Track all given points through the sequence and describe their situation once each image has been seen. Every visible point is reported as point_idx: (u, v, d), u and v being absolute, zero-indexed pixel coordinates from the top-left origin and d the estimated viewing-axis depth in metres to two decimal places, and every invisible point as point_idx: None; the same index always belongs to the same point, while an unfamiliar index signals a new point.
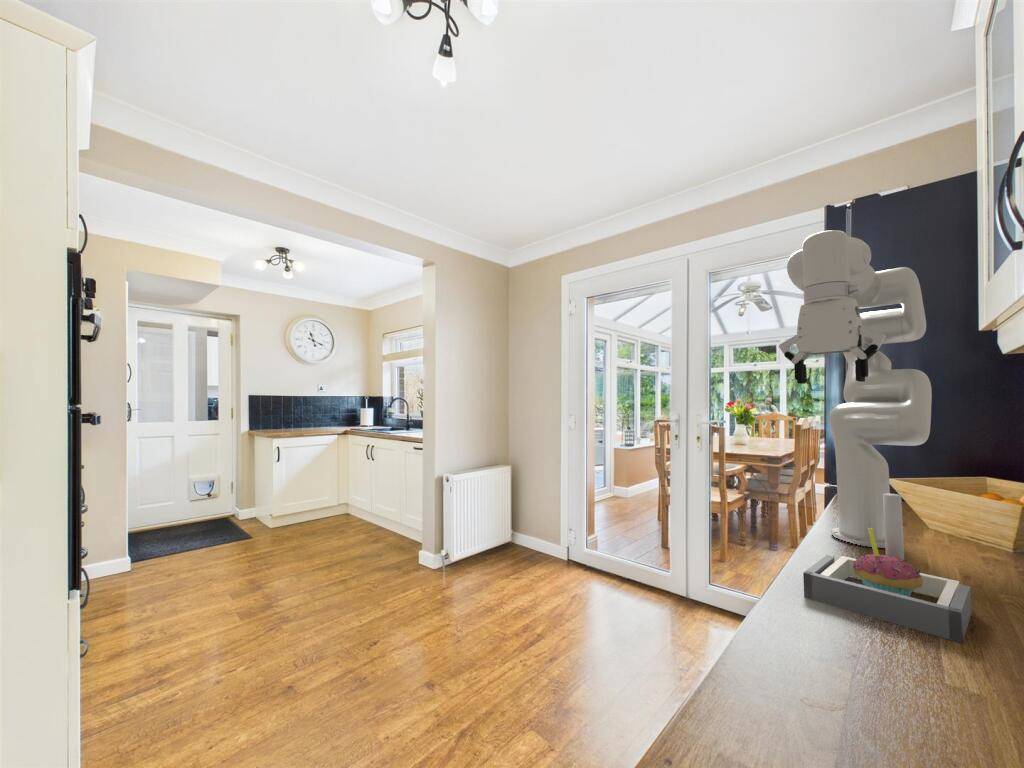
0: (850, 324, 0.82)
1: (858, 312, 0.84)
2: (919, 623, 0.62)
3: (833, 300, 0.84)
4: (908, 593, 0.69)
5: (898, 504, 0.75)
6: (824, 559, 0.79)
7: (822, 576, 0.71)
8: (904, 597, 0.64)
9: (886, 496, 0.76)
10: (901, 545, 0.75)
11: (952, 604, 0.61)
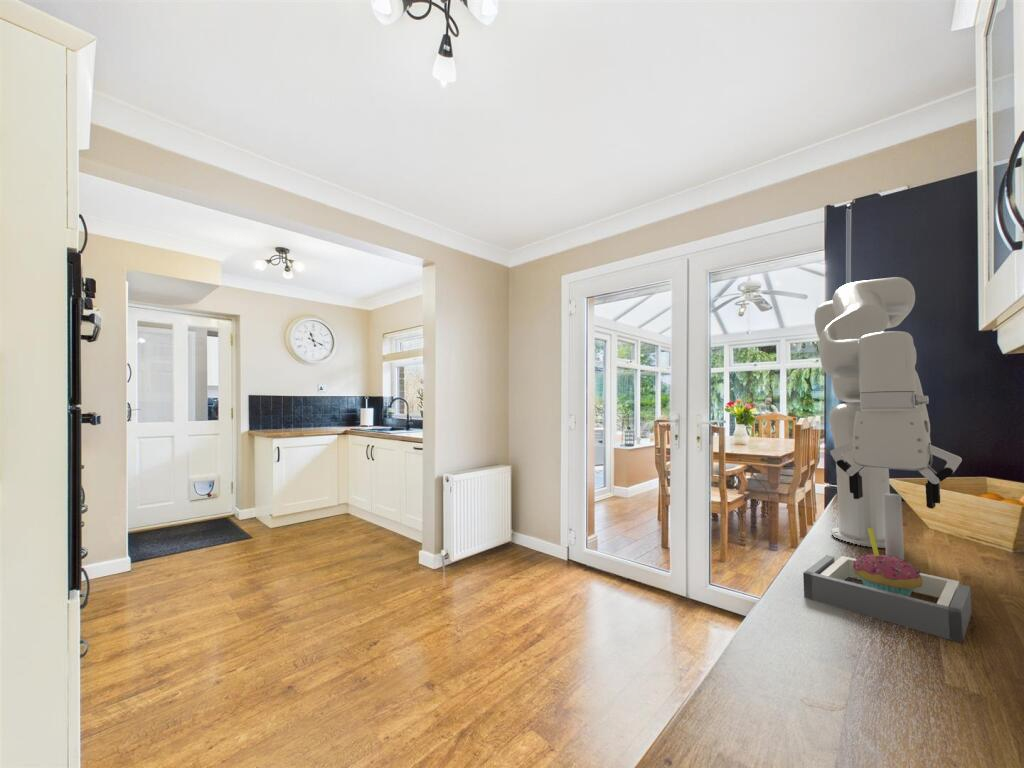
0: (919, 442, 0.72)
1: (926, 426, 0.73)
2: (919, 623, 0.62)
3: (898, 412, 0.74)
4: (908, 593, 0.69)
5: (898, 504, 0.75)
6: (824, 559, 0.79)
7: (822, 576, 0.71)
8: (904, 597, 0.64)
9: (886, 496, 0.76)
10: (901, 545, 0.75)
11: (952, 604, 0.61)
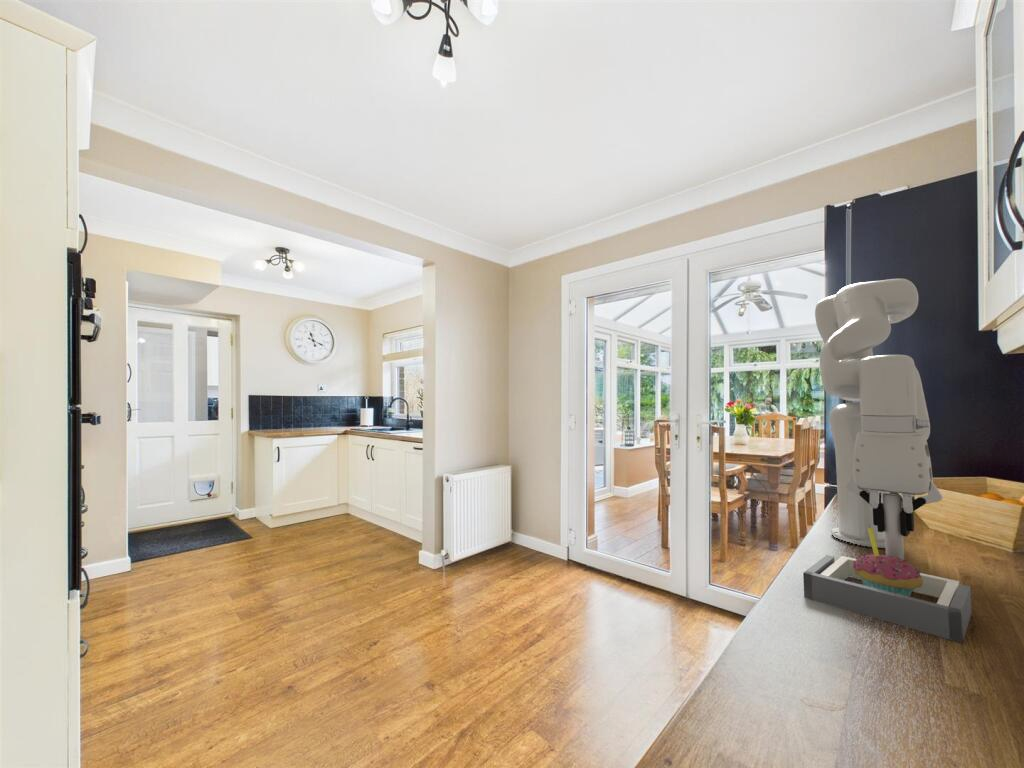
0: (920, 467, 0.72)
1: (927, 450, 0.73)
2: (919, 623, 0.62)
3: (899, 436, 0.74)
4: (908, 593, 0.69)
5: (898, 504, 0.75)
6: (824, 559, 0.79)
7: (822, 576, 0.71)
8: (904, 597, 0.64)
9: (886, 496, 0.76)
10: (901, 545, 0.75)
11: (952, 604, 0.61)
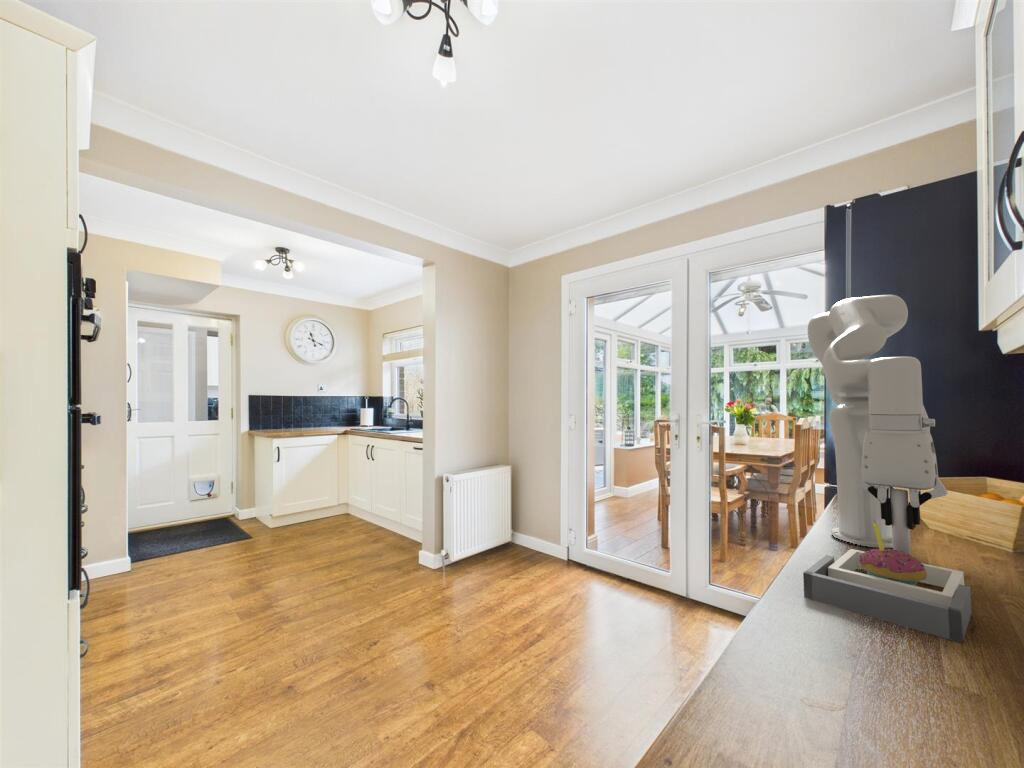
0: (926, 463, 0.76)
1: (933, 447, 0.77)
2: (919, 623, 0.62)
3: (906, 434, 0.77)
4: None
5: (905, 499, 0.79)
6: (824, 559, 0.79)
7: (822, 576, 0.71)
8: (904, 597, 0.64)
9: (893, 491, 0.80)
10: (908, 538, 0.78)
11: (952, 604, 0.61)
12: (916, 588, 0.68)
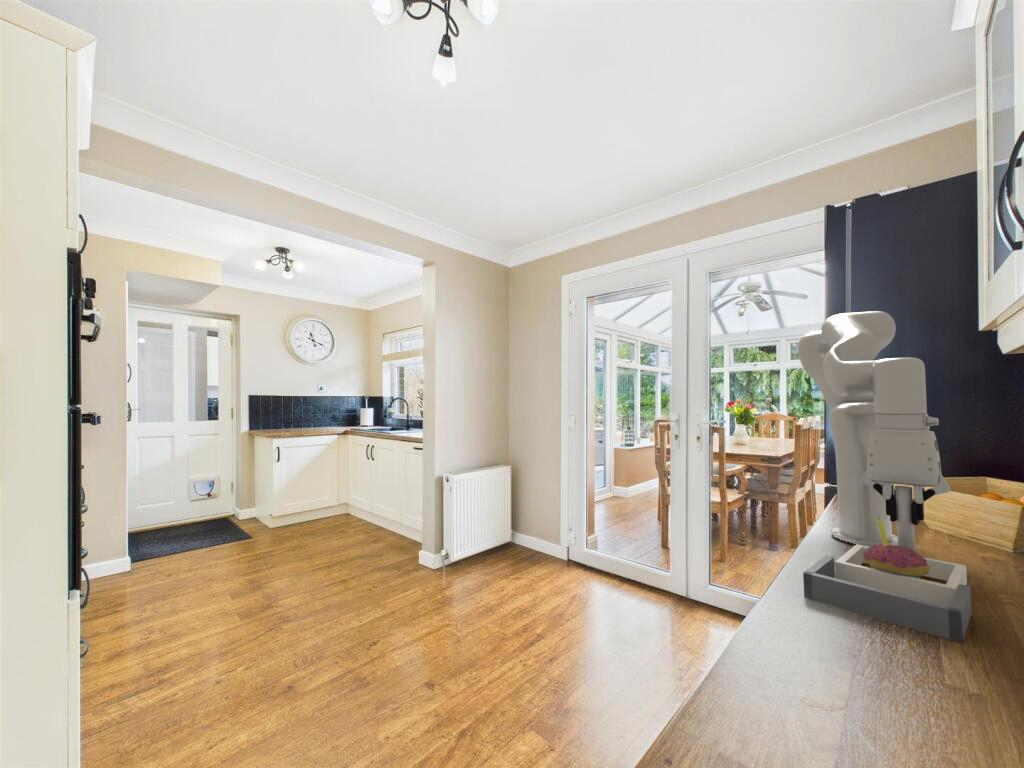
0: (930, 461, 0.78)
1: (936, 445, 0.80)
2: (919, 623, 0.62)
3: (910, 433, 0.80)
4: None
5: (909, 495, 0.81)
6: (824, 559, 0.79)
7: (822, 576, 0.71)
8: (904, 597, 0.64)
9: (898, 488, 0.82)
10: (912, 533, 0.81)
11: (952, 604, 0.61)
12: (921, 581, 0.70)
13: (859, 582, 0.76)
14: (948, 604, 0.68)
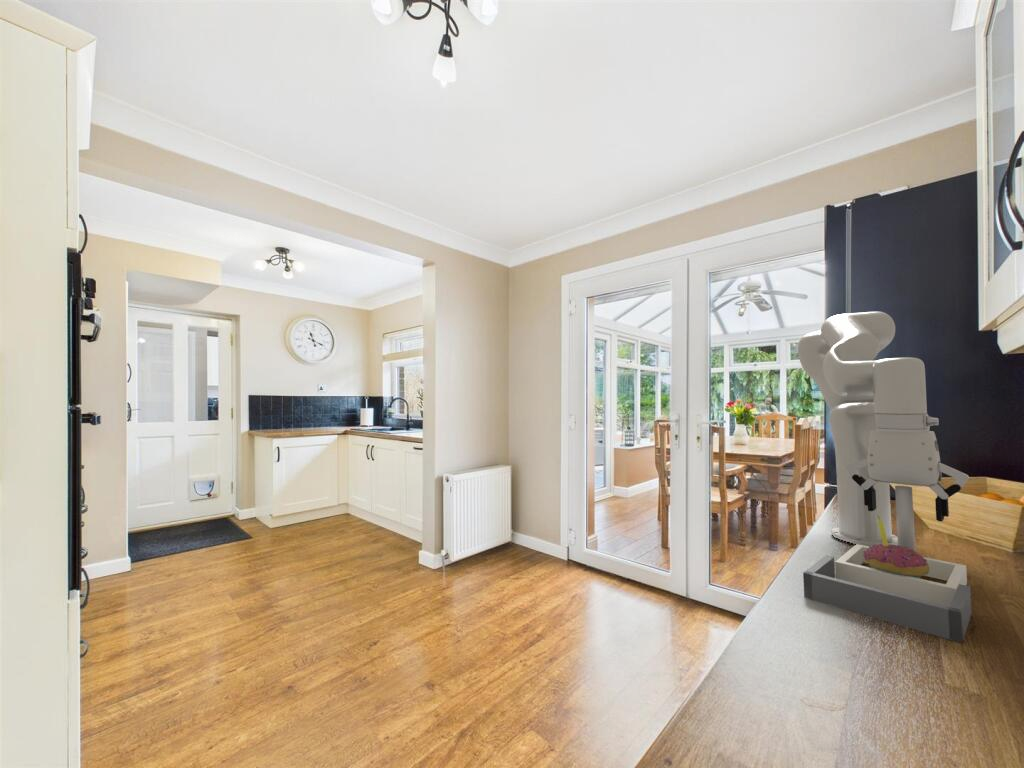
0: (930, 461, 0.78)
1: (936, 445, 0.80)
2: (919, 623, 0.62)
3: (910, 432, 0.80)
4: None
5: (909, 495, 0.81)
6: (824, 559, 0.79)
7: (822, 576, 0.71)
8: (904, 597, 0.64)
9: (898, 488, 0.82)
10: (912, 533, 0.81)
11: (952, 604, 0.61)
12: (921, 581, 0.71)
13: (859, 582, 0.76)
14: (948, 604, 0.68)
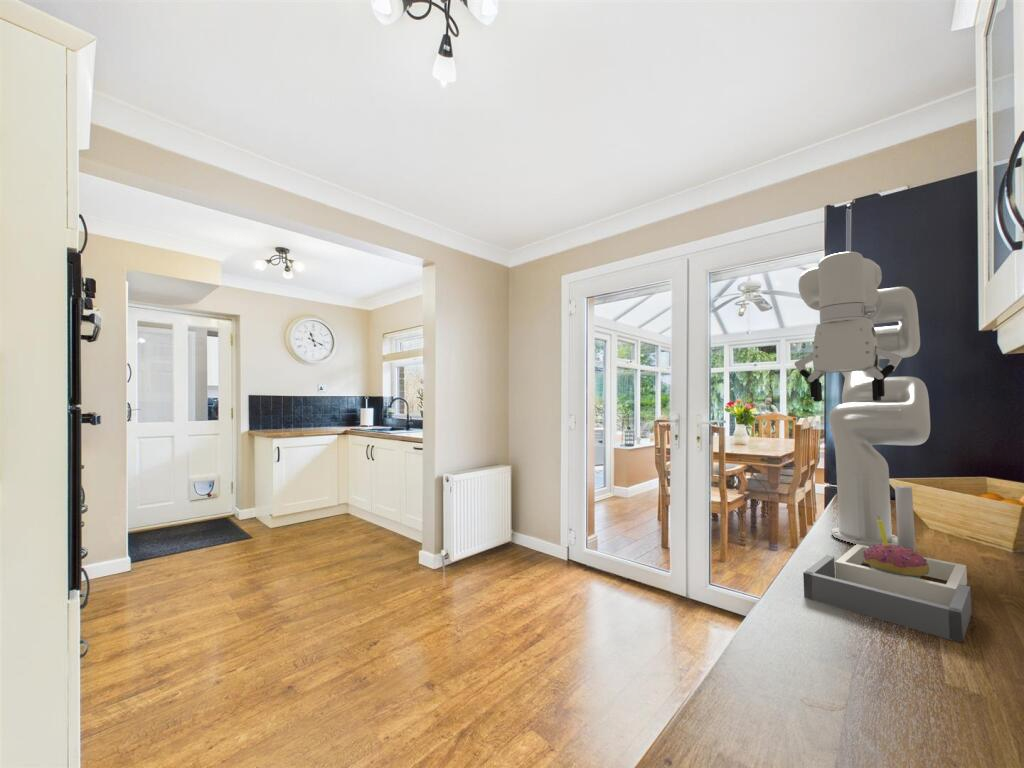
0: (867, 345, 0.84)
1: (874, 332, 0.85)
2: (919, 623, 0.62)
3: (850, 321, 0.85)
4: None
5: (909, 495, 0.81)
6: (824, 559, 0.79)
7: (822, 576, 0.71)
8: (904, 597, 0.64)
9: (898, 488, 0.82)
10: (912, 533, 0.81)
11: (952, 604, 0.61)
12: (921, 581, 0.71)
13: (859, 582, 0.76)
14: (948, 604, 0.68)
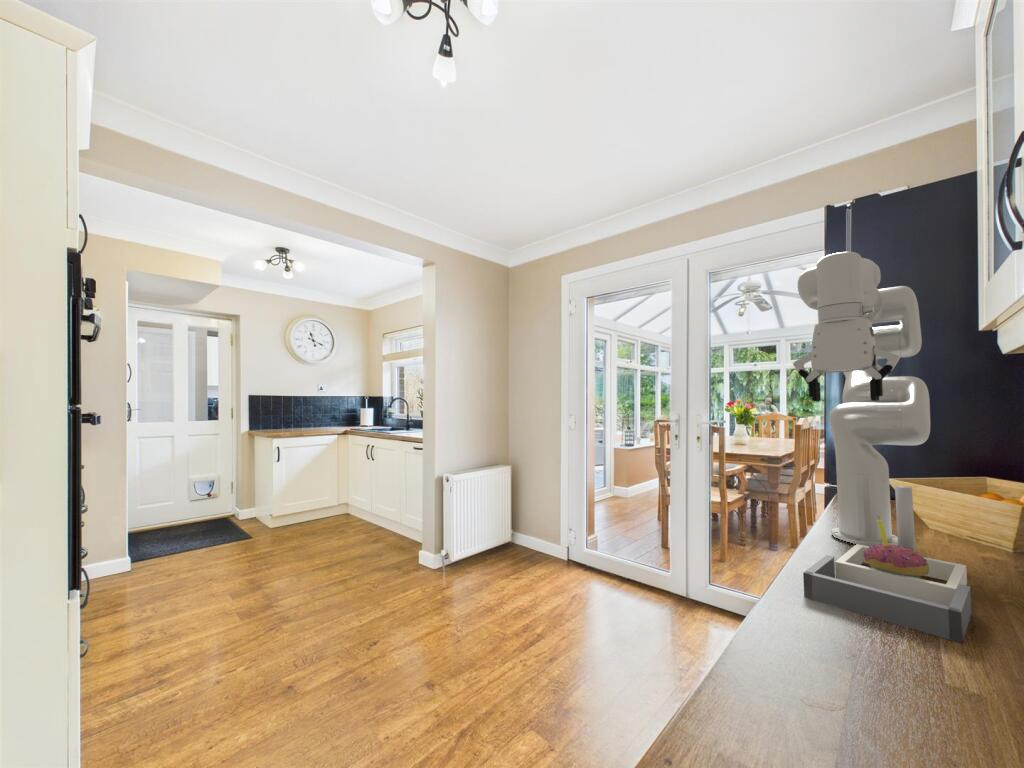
0: (865, 345, 0.84)
1: (872, 332, 0.85)
2: (919, 623, 0.62)
3: (848, 321, 0.86)
4: None
5: (909, 495, 0.81)
6: (824, 559, 0.79)
7: (822, 576, 0.71)
8: (904, 597, 0.64)
9: (898, 488, 0.82)
10: (912, 533, 0.81)
11: (952, 604, 0.61)
12: (921, 581, 0.71)
13: (859, 582, 0.76)
14: (948, 604, 0.68)
